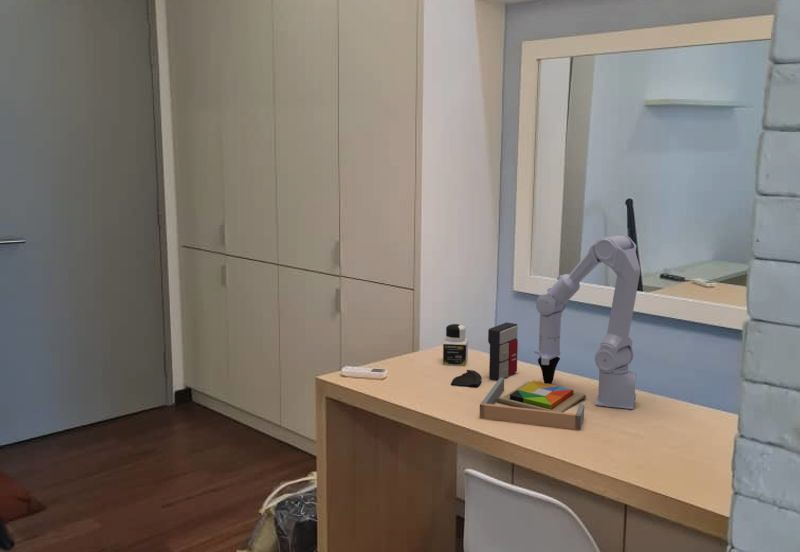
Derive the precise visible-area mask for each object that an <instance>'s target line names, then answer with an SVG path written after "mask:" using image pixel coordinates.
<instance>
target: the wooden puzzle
mask: <svg viewBox="0 0 800 552" xmlns="http://www.w3.org/2000/svg"><path fill="white" fill-rule="evenodd" d="M586 398H587V395H586V394H585V393H582V392H576V391H574V389H572V388H567V387H563V386H560V385H555V384H546V383H544V382H541V381H537V380H532V381H526V382H524V383H523V384H522V385H520V386H518V387H517V388H515V389H514V390H512V391H510V392H508V394H506V395H504V396H502V397H501V396H500V397H499V398H497V401H496V402H497V403H501V404H504V405H508V406H511V407H520V408H529V409H537V410H546V411H555V412H564V413H565V412H566V411H567V410H568V409H571V407H573V406H574V405H575V404H577V403H578V402H579V401H581V400H582V399H586Z"/></svg>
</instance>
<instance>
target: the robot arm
mask: <svg viewBox="0 0 800 552" xmlns="http://www.w3.org/2000/svg"><path fill="white" fill-rule="evenodd" d="M636 252H637V244H636V243H635V242H634V241H633V240H632V239H631V237H629V235H626V234H623V233H622V234H616V235H612V236H602V237H600V238H599V239H597V240H596V242H595V243H594V244H593V245H591V246H590V248H589V249H588V251H587V253H585V255H584V256H583V257H582V258H581V260H580V261H578V263H577V265H576V266H575V267H574V268H573V270H572V271H571V272H570V273H569V274H567V273H564V274H561V275H559V276H558V277H556V280H557V281H556V282H555V283H554V285H552V287H549V288H547V290H546V291H547V292H546V293H545V294H540V295H539V296H538V298H537V299H536V302H535V307H536V310H537V312H538V313H539V329H538V330H539V333H538V337H539V338H538V349H534V354H538V356H539V357H538V359H537V363H538V365H539V367H540V370H541V374H542V379H543V383H546V384H551V385H553V384H552V383H553V381H554V376H555V374H556V373H555V372H556V369H557V366H558V364H559V361H560V360H561V358H560V356H561V348H560V347H561V323H562V322H561V321H562V314H563V311H564V310H565V309H566V305H567V304H566V303H568V302H569V301H570V300H571V298H573V297H574V295H576V293H577V292H578V291H579V290H580V289H581V286H580V285H581V284H580V282H581V281H583V279H585V278H586V276H588V275H589V274H590V273H591V271H593V270H594V269H595V268H596V267H597V266H598V265H599V264H601V263H603V264H605V266H607V267H608V268H610V269H611V270H612V271H613V272H614V273H615V275H616V280H615V286H614V292H613V298H612V303H611V309H610V314H609V319H608V326H607V332H606V334H605V336H604V337H603V338H602V340H601V342H600V346H599V349H597V351H596V353H595V354H594V361H595V365H596V366H597V368H598V393H597V397H596V400H595V404H594V405H595V406H600V407H609V408H616V409H618V408H619V409H626V410H633V409H634V408H635V407H634V406H635V401H636V400H637V398H636V397H637V393H636V382H637V381H636V377H637V376H636V375H637V372H634V371H630V370H629V365H630V364H631V363H632V361H633V360H634V351H633V340H632V338H630V336H629V335H630V332H631V331H630V330H631V325H632V319H633V314H634V308H635V303H636V297H637V291H638V286H639V282H640V281H639V280H640V275H641V266H640V263H639V260H638V257H637V253H636Z"/></svg>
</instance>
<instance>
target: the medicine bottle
mask: <svg viewBox="0 0 800 552" xmlns="http://www.w3.org/2000/svg"><path fill="white" fill-rule="evenodd" d="M468 348H469V339H468V338H467V337H466V326H465V325H463V324H461V323H460V324H459V323H453V324H452V323H451V324H449V325H447V326H445V339H444V340H443V343H442V349H443V350H442V365H443V366H458V367H459V366H460V367H461V366H462V367H466V366H467V362H468V360H469V359H468V358H469V357H468V355H469V349H468Z"/></svg>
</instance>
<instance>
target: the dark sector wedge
mask: <svg viewBox="0 0 800 552" xmlns="http://www.w3.org/2000/svg"><path fill="white" fill-rule="evenodd" d="M482 380H483V377H482V375H481V374H480V373H479V372H477V371H475V370H473V369H472V370H471V369H466V372H465V373H462V374H461V375H459V376H456V377H454V378H453V379H452V380H451V382H450V386H453V387H462V388H465V387H466V388H475V389H477V388H479V387H480V385H481V384H482Z"/></svg>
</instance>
